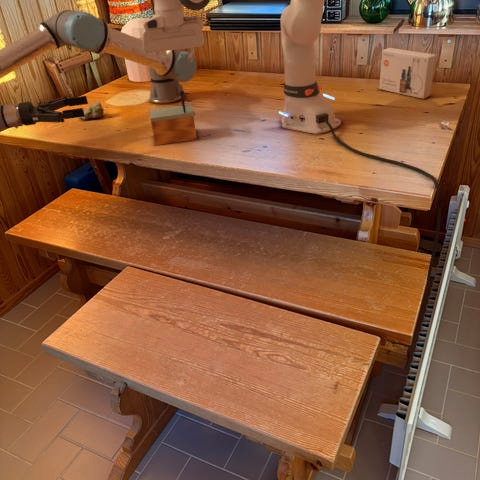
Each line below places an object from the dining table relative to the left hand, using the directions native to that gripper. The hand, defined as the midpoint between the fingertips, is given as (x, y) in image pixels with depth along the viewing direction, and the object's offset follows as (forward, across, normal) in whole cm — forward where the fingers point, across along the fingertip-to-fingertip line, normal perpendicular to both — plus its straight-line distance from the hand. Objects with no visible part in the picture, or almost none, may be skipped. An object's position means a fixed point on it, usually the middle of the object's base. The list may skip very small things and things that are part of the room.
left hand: (85, 105), depth 158 cm
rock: (-4, -37, -16) cm, 41 cm away
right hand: (+33, 0, +10) cm, 34 cm away
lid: (+29, 0, -7) cm, 29 cm away
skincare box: (+123, -11, -16) cm, 125 cm away
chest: (+28, 0, -16) cm, 32 cm away
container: (+21, -91, -16) cm, 95 cm away
